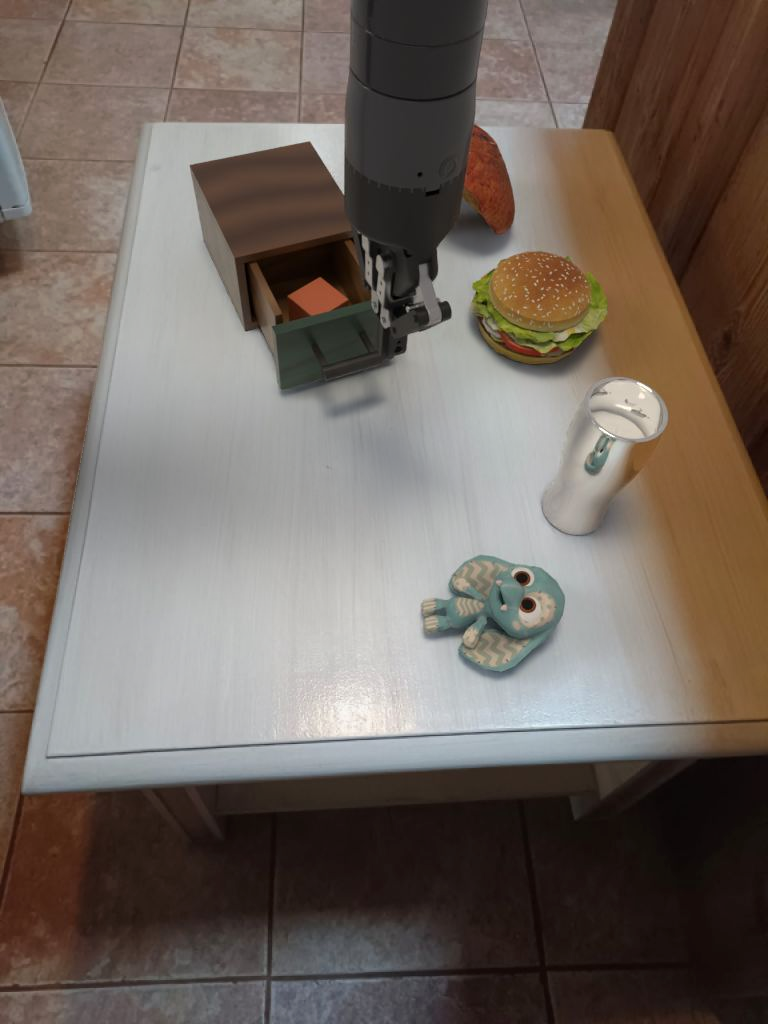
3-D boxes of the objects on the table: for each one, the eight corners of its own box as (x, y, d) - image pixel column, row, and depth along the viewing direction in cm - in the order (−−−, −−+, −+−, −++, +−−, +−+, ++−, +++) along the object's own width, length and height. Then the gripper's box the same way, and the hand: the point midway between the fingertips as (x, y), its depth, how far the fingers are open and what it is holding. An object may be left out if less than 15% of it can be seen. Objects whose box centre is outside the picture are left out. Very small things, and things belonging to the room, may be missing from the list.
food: (514, 394, 76) (531, 340, 70) (447, 308, 83) (457, 250, 76) (617, 354, 80) (643, 299, 73) (546, 275, 86) (564, 217, 80)
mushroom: (384, 243, 81) (519, 219, 78) (364, 96, 78) (503, 65, 76) (403, 262, 96) (516, 243, 94) (386, 140, 94) (503, 116, 91)
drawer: (410, 387, 75) (417, 331, 68) (295, 421, 72) (291, 366, 65) (342, 270, 83) (343, 210, 77) (237, 296, 80) (227, 236, 74)
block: (317, 351, 75) (316, 319, 71) (289, 327, 77) (287, 295, 73) (348, 331, 77) (348, 299, 73) (320, 308, 78) (320, 276, 75)
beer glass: (550, 467, 72) (597, 362, 59) (617, 495, 70) (680, 394, 58) (526, 521, 68) (570, 422, 55) (596, 551, 67) (658, 457, 54)
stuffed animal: (410, 538, 60) (554, 517, 60) (418, 575, 66) (548, 556, 66) (425, 662, 55) (584, 641, 54) (432, 689, 61) (575, 671, 60)
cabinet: (361, 300, 82) (364, 227, 74) (245, 331, 79) (234, 257, 71) (312, 216, 90) (310, 140, 81) (203, 241, 86) (189, 164, 78)
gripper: (309, 97, 45) (316, 307, 60) (394, 226, 39) (379, 424, 54) (417, 77, 47) (398, 285, 62) (514, 197, 41) (468, 396, 56)
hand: (390, 350), depth 58 cm, fingers closed
